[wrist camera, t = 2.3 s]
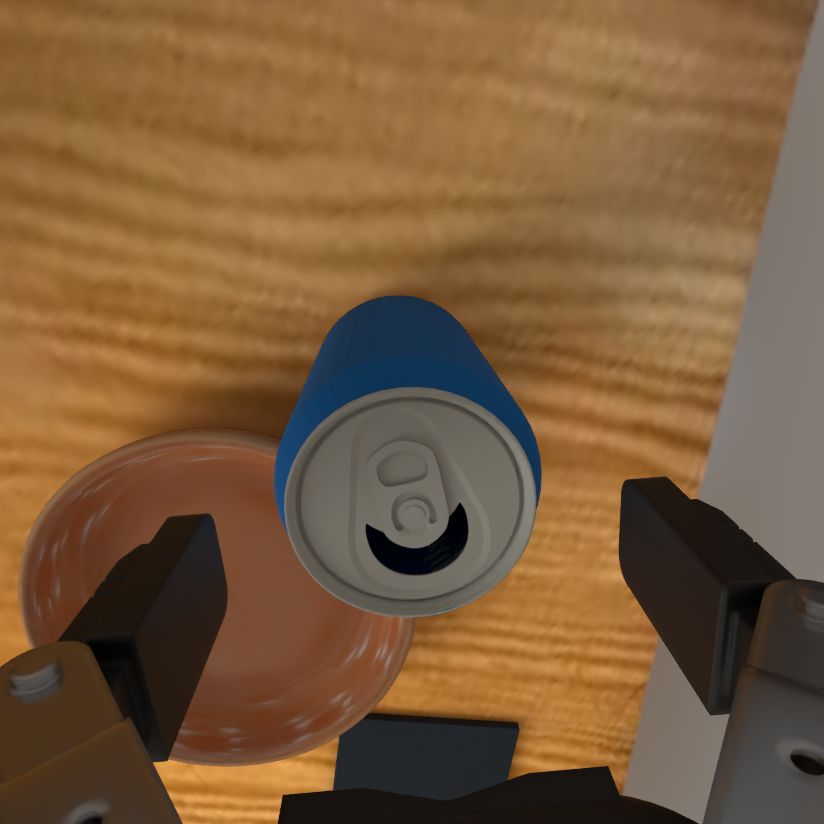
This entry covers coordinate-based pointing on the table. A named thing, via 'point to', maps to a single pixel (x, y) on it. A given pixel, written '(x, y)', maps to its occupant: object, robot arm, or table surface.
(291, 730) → the saucer
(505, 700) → the table surface
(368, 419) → the beverage can
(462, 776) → the coaster
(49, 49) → the table surface
